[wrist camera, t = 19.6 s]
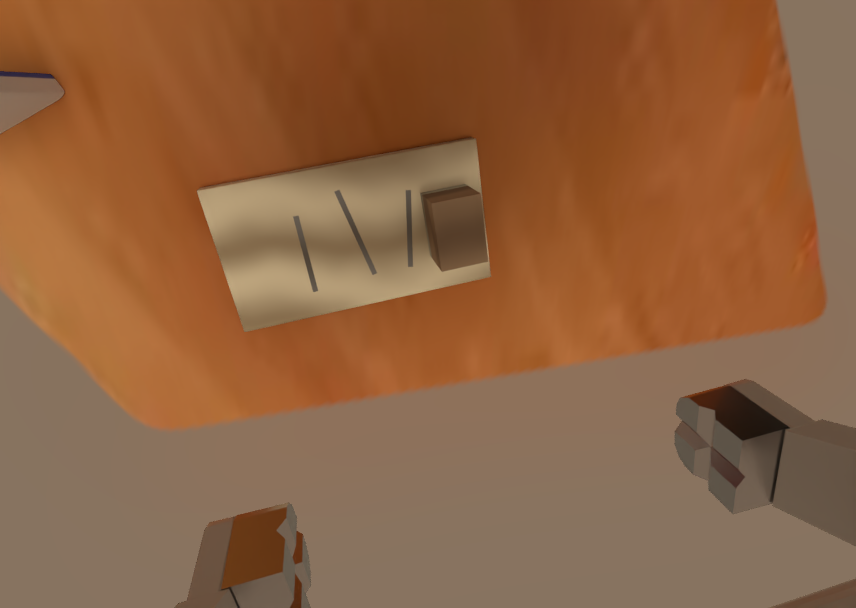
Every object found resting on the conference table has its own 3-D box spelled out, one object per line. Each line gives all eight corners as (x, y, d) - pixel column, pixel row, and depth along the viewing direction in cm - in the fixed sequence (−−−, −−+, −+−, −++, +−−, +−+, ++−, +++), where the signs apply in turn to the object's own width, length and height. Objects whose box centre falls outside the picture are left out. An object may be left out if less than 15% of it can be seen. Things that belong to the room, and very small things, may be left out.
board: (200, 187, 36) (196, 190, 35) (471, 137, 39) (476, 138, 37) (246, 325, 41) (244, 331, 39) (486, 272, 43) (490, 276, 42)
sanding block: (420, 192, 38) (431, 203, 35) (464, 183, 39) (480, 193, 35) (430, 255, 40) (441, 271, 37) (472, 246, 41) (488, 261, 37)
